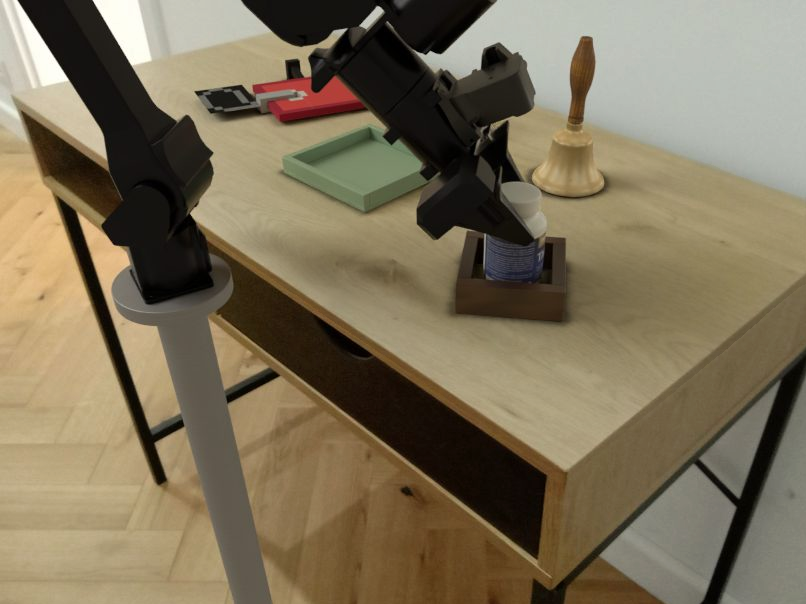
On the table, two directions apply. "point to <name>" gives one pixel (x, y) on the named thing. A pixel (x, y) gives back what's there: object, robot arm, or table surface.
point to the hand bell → (573, 137)
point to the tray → (357, 168)
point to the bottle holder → (511, 285)
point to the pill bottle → (512, 258)
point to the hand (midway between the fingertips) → (531, 225)
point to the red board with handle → (283, 97)
